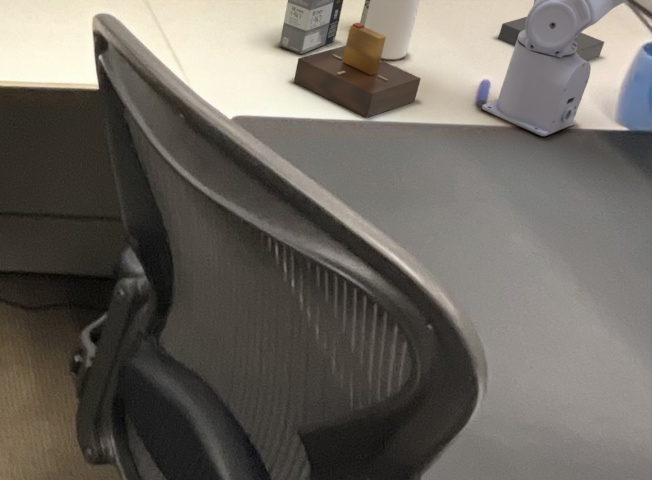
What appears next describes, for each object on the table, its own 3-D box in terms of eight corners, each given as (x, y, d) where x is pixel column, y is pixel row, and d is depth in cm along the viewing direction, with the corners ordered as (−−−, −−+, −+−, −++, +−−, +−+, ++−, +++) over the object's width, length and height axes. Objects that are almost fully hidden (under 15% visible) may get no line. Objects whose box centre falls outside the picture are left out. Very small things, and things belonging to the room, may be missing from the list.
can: (404, 64, 150) (428, -30, 142) (357, 55, 150) (378, -39, 142) (407, 48, 154) (430, -43, 146) (361, 39, 155) (382, -53, 147)
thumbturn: (377, 73, 138) (386, 34, 134) (370, 75, 137) (379, 36, 134) (349, 60, 140) (357, 21, 137) (342, 62, 139) (350, 23, 136)
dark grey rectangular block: (599, 57, 162) (609, 29, 159) (567, 68, 157) (578, 39, 154) (530, 29, 167) (539, 1, 165) (497, 38, 162) (506, 10, 160)
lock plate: (414, 101, 140) (421, 76, 138) (366, 117, 135) (372, 92, 133) (342, 67, 146) (348, 43, 144) (293, 81, 140) (298, 56, 138)
